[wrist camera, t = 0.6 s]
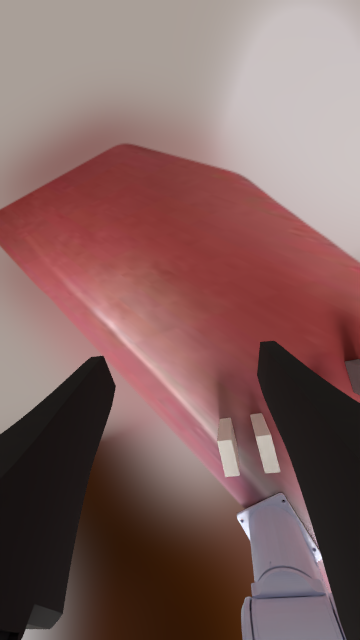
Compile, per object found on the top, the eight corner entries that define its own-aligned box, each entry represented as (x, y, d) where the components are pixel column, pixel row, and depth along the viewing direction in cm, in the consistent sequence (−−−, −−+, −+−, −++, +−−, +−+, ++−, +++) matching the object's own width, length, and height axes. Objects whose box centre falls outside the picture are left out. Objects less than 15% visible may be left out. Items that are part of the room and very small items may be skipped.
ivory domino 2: (261, 412, 33) (270, 434, 26) (269, 442, 32) (280, 472, 26) (249, 414, 33) (255, 436, 26) (257, 443, 33) (265, 473, 26)
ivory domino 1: (230, 417, 34) (231, 439, 27) (237, 445, 33) (239, 475, 27) (219, 419, 34) (217, 441, 27) (226, 447, 34) (225, 477, 27)
